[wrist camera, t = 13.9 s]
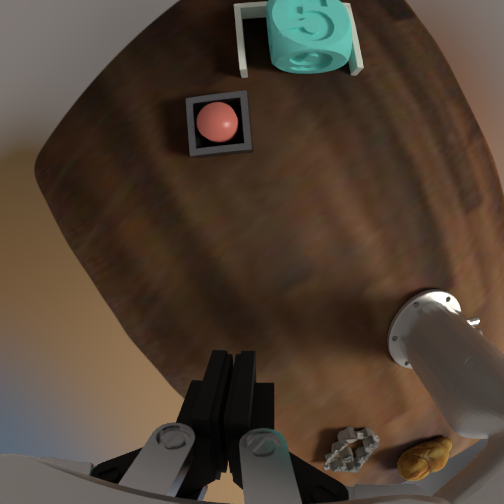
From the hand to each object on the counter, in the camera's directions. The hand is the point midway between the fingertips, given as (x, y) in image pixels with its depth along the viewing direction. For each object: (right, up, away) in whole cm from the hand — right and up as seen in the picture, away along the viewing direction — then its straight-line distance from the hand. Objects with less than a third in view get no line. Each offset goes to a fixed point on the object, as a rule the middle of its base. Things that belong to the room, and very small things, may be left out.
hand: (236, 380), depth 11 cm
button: (-3, +19, +20) cm, 28 cm away
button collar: (-3, +19, +21) cm, 29 cm away
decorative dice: (+7, +30, +19) cm, 36 cm away
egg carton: (+18, -29, +33) cm, 48 cm away
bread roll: (+36, -36, +34) cm, 61 cm away
